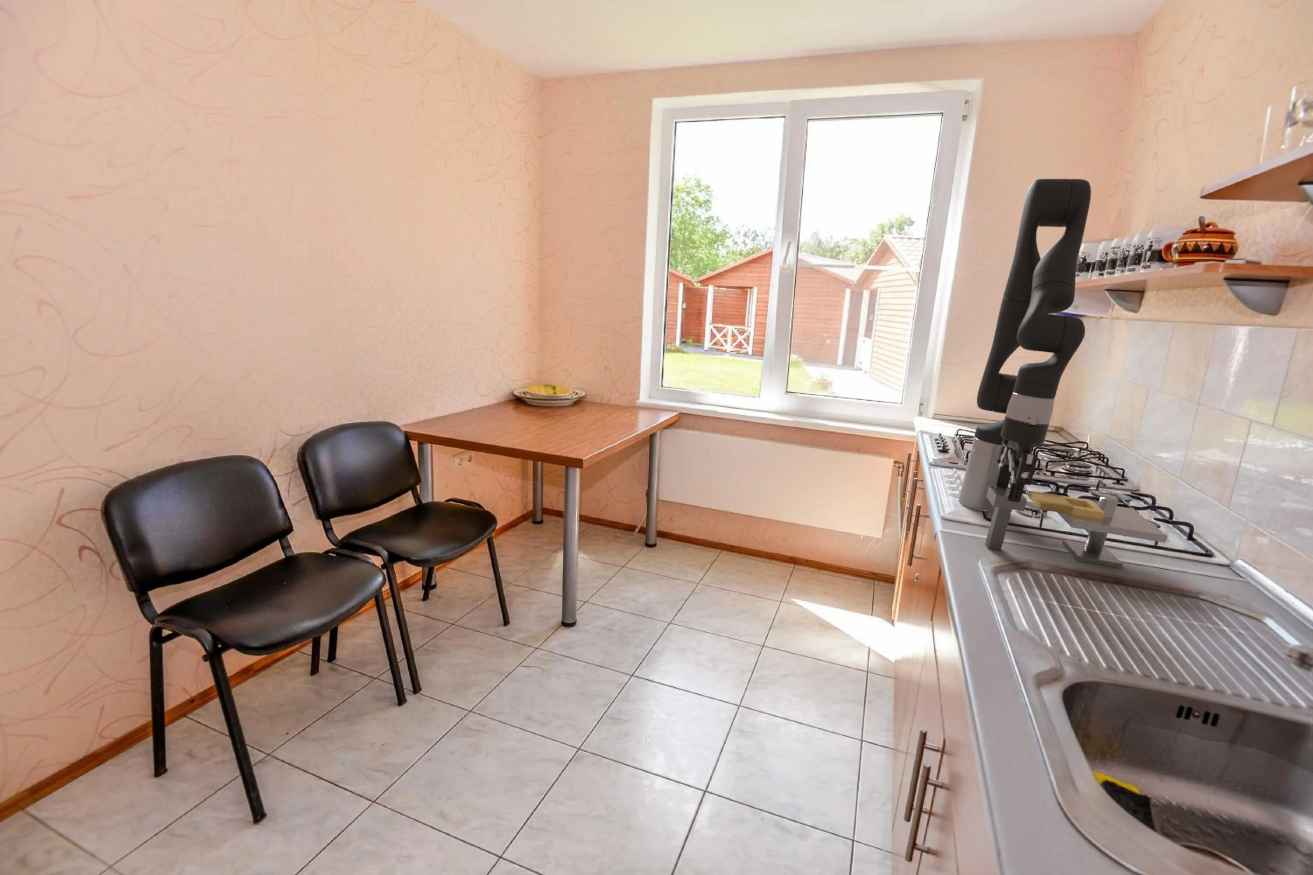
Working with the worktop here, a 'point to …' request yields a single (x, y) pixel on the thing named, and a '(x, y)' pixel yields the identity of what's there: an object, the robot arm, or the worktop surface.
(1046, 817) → the worktop surface
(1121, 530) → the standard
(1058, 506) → the bracket
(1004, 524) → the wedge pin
